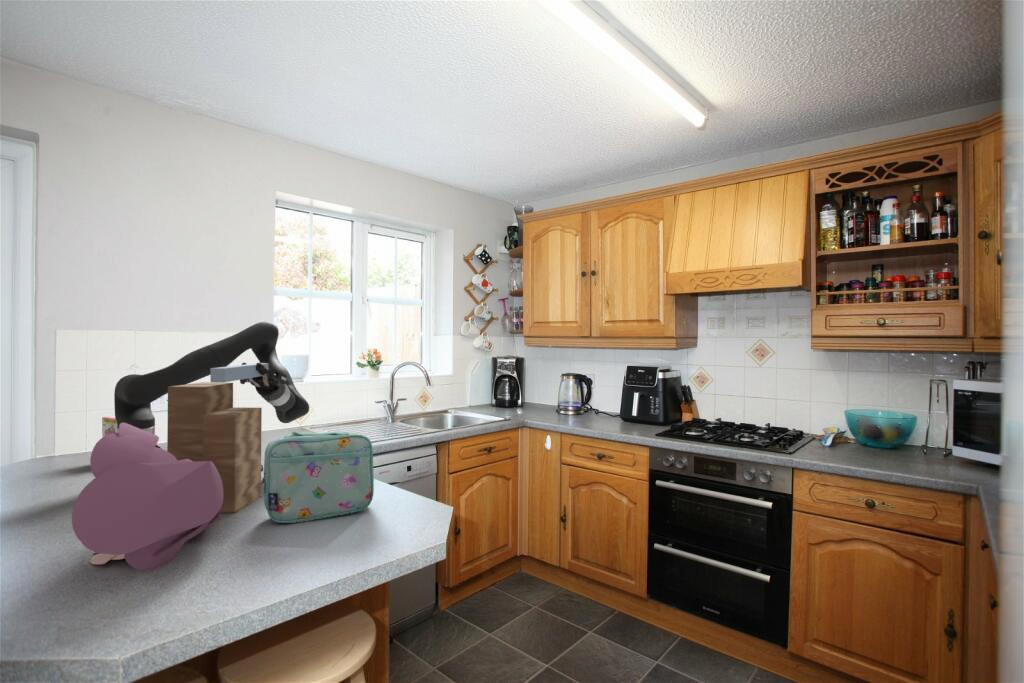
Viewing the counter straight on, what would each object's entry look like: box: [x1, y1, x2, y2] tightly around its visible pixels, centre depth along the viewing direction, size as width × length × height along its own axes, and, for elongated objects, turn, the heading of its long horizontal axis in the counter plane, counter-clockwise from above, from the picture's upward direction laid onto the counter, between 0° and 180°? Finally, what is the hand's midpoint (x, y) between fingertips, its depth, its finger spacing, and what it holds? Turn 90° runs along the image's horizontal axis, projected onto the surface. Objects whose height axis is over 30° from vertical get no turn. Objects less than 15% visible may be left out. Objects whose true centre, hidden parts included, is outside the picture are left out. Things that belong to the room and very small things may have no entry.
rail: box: [210, 362, 268, 383], centre depth 139 cm, size 24×4×4 cm, turn 1°
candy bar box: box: [101, 415, 117, 438], centre depth 179 cm, size 11×5×16 cm, turn 65°
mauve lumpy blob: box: [71, 423, 223, 572], centre depth 106 cm, size 36×24×29 cm
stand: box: [166, 381, 263, 514], centre depth 136 cm, size 14×17×32 cm
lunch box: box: [259, 430, 375, 524], centre depth 128 cm, size 27×10×21 cm, turn 117°
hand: (250, 365), depth 144 cm, fingers closed on rail, 3 cm apart
